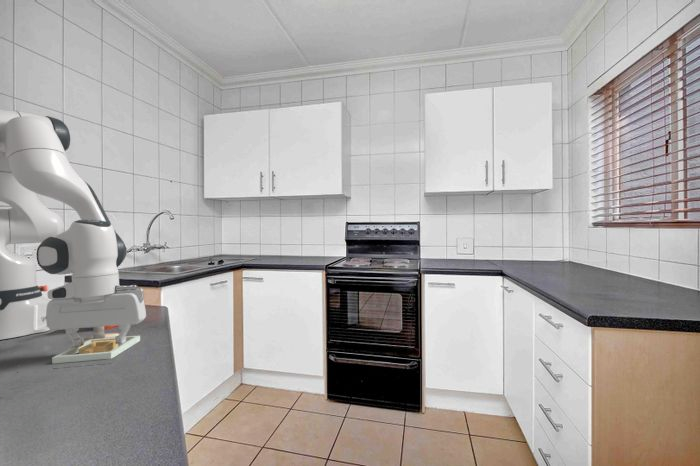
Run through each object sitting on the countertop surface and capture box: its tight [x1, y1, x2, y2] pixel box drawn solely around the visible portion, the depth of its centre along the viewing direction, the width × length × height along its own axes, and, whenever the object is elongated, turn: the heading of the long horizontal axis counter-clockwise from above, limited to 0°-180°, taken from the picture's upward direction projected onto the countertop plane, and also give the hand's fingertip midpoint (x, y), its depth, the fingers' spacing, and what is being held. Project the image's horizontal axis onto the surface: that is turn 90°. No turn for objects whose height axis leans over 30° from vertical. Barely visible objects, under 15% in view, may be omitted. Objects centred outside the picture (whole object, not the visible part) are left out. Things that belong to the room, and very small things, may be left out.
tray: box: [51, 335, 141, 370], centre depth 76 cm, size 12×12×2 cm
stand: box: [83, 326, 120, 342], centre depth 87 cm, size 9×9×6 cm
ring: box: [78, 340, 119, 354], centre depth 76 cm, size 7×5×2 cm
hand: (99, 344), depth 76 cm, fingers open, 8 cm apart
